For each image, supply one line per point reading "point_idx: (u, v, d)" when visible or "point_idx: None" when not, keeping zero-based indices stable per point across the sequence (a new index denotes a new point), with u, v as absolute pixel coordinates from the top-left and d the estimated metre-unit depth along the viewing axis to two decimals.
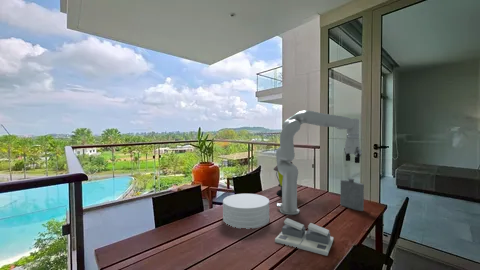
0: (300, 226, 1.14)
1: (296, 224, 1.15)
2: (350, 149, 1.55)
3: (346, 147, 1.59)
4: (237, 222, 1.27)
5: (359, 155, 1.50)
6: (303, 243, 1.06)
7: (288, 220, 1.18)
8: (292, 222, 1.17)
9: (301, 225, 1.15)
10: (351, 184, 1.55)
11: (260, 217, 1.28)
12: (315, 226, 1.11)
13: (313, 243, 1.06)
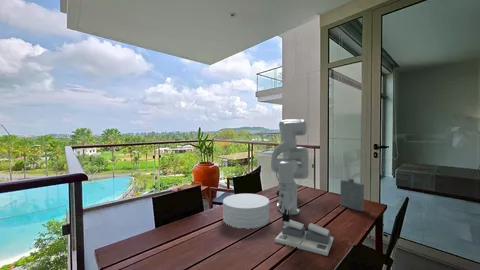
0: (300, 225, 1.14)
1: (296, 224, 1.15)
2: (292, 202, 1.18)
3: (289, 202, 1.14)
4: (237, 222, 1.27)
5: None
6: (303, 243, 1.06)
7: None
8: (292, 222, 1.17)
9: (301, 224, 1.15)
10: (351, 184, 1.55)
11: (260, 217, 1.28)
12: (315, 226, 1.11)
13: (313, 243, 1.06)
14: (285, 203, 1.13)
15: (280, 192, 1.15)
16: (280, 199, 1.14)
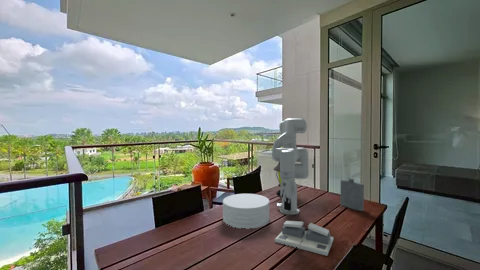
0: (300, 223, 1.14)
1: (295, 223, 1.15)
2: (293, 190, 1.18)
3: (291, 190, 1.14)
4: (237, 222, 1.27)
5: None
6: (303, 243, 1.06)
7: (287, 222, 1.18)
8: (291, 222, 1.17)
9: (300, 222, 1.15)
10: (351, 184, 1.55)
11: (260, 217, 1.28)
12: (315, 226, 1.11)
13: (313, 243, 1.06)
14: (287, 192, 1.13)
15: (282, 181, 1.14)
16: (282, 188, 1.14)
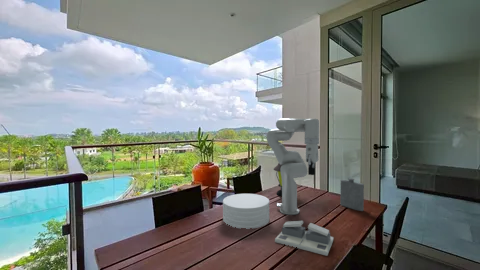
0: (299, 222, 1.14)
1: (295, 222, 1.15)
2: (317, 156, 1.27)
3: (315, 155, 1.23)
4: (237, 222, 1.27)
5: None
6: (303, 243, 1.06)
7: (287, 223, 1.18)
8: (291, 223, 1.17)
9: (300, 221, 1.15)
10: (351, 184, 1.55)
11: (260, 217, 1.28)
12: (315, 226, 1.11)
13: (313, 243, 1.06)
14: (312, 156, 1.21)
15: (307, 146, 1.23)
16: (307, 152, 1.23)
